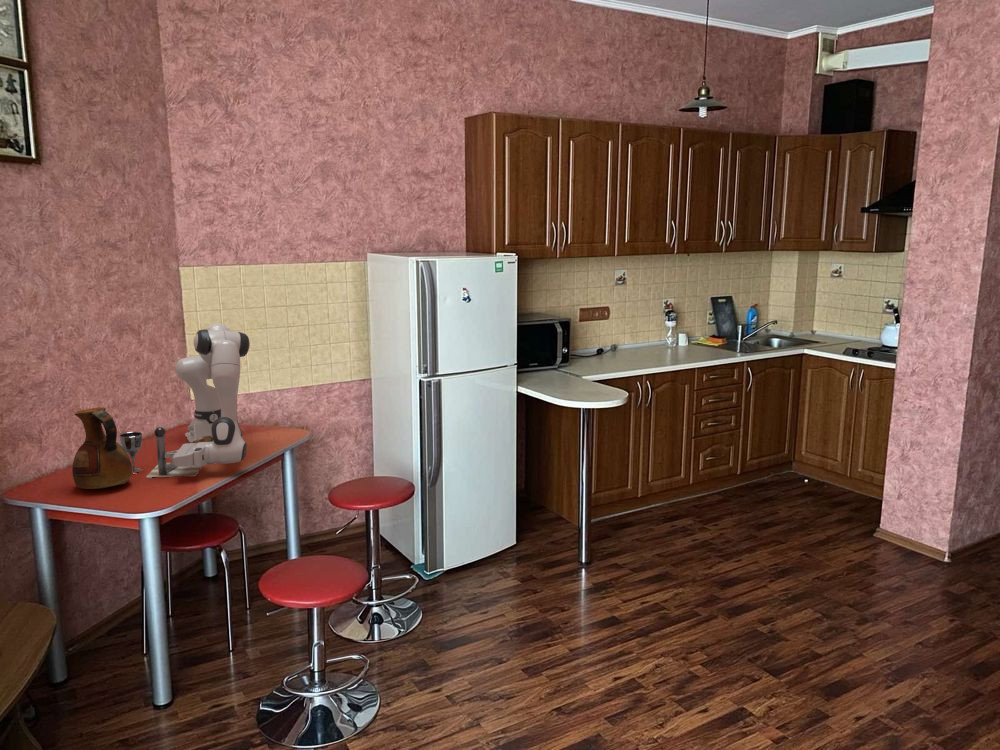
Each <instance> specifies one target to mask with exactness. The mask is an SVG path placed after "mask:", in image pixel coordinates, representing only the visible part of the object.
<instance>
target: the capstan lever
mask: <svg viewBox="0 0 1000 750" xmlns="http://www.w3.org/2000/svg"><path fill="white" fill-rule="evenodd" d="M153 434H154V436H155V440H156V443H155V444H156V453H157V454H156V455H157V465H158V471H159V474H160V475H163V474H167V472H169V471H170V470H172V469H174V468H175V467H177V466H173V462H172V461H171V462H168V463H169V464H168V465H167V464H166V463H167V458H165V453H166V452H167V451H166V440H165V436H166V428H164V427H162V426H161V427H160V426H159V427H156V428H155V429H154V433H153Z"/></svg>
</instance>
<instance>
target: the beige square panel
mask: <svg viewBox="0 0 1000 750" xmlns="http://www.w3.org/2000/svg"><path fill="white" fill-rule="evenodd" d="M169 463H170V462H166V464H167V465H168V464H169ZM201 467H202V466H201ZM201 467H194V466H190V467H178V466H177V467H175V468H174V469H172V470H170V471H169V472H167V474H163V475H160V474H159V471H158V464H157V465H155V467H154V468H152V470H151V471H150V472H149V473H148V474H147V475H146V476H145V477H146V479H153V478H152V477H169V478H174V477H173V476H195V475H196V474H197V475H198V473H199V472H200V471H199V470H201V469H202V468H203V467H202V468H201ZM198 471H199V472H198ZM197 472H198V473H197ZM197 475H196V476H197ZM196 476H195V477H196Z"/></svg>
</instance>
